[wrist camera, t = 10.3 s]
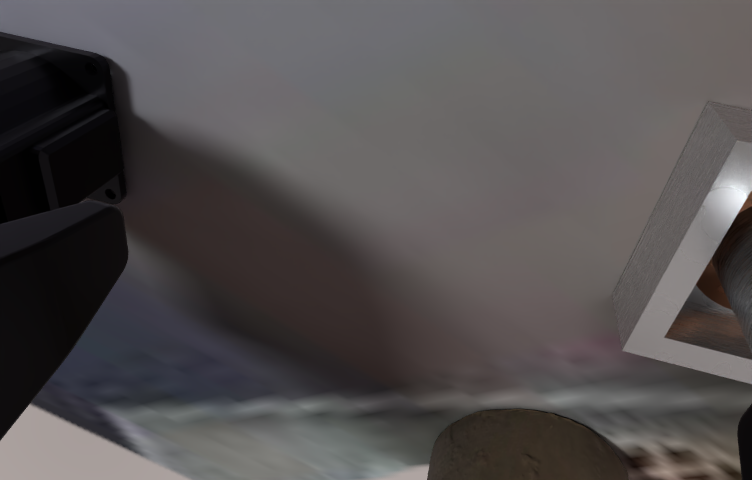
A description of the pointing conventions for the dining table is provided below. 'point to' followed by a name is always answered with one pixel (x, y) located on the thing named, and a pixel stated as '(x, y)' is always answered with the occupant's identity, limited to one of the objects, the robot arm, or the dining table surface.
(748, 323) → the tube
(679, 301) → the white square flat box
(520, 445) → the pillar candle
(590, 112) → the dining table surface
